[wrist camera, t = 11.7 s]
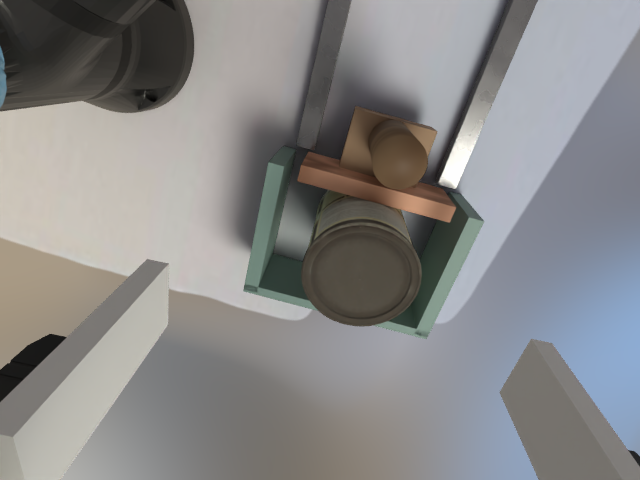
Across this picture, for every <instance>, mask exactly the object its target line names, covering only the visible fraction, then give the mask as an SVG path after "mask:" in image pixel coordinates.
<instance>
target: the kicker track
mask: <svg viewBox="0 0 640 480" xmlns="http://www.w3.org/2000/svg"><path fill="white" fill-rule="evenodd" d="M351 1H352V0H328V4H327V9H326V13H325V18H324V22H323V27H322V31H321V36H320V40H319V45H318V49H317V54H316V58H315V62H314V67H313V71H312V76H311V80H310V85H309V89H308V94H307V98H306V103H305V107H304V112H303V116H302V121H301V125H300V130H299V134H298V139H297V143H296V146H300V147H304V148H307V149H311V150H314V149H315V147H316V143H317V139H318V134H319V130H320V126H321V122H322V118H323V114H324V110H325V106H326V102H327V98H328V94H329V90H330V86H331V82H332V78H333V74H334V70H335V66H336V62H337V58H338V53H339V49H340V45H341V41H342V37H343V33H344V29H345V25H346V21H347V17H348V13H349V9H350V5H351ZM537 1H538V0H508V3H507V5H506V7H505V10H504V12H503V15H502V17H501V20H500V22H499V25H498V27H497V30H496V32H495V35H494V37H493V39H492V42H491V44H490V47H489V49H488V52H487V54H486V57H485V59H484V62H483V64H482V67H481V69H480V71H479V74H478V76H477V79H476V81H475V84H474V86H473V89H472V91H471V94H470V96H469V99H468V101H467V104H466V106H465V108H464V111H463V113H462V116H461V118H460V121H459V123H458V126H457V128H456V131H455V133H454V136H453V138H452V140H451V143H450V145H449V148H448V150H447V153H446V155H445V158H444V160H443V163H442V165H441V168H440V170H439V172H438V175H437V177H436V180H435V181H436V183H437V184H438V185H441V186H445V187H448V188H452V189H456V187H457V184H458V182H459V180H460V178H461V175H462V173H463V171H464V168H465V166H466V164H467V161H468V159H469V157H470V155H471V152H472V150H473V148H474V145H475V143H476V141H477V139H478V136H479V134H480V132H481V129H482V127H483V125H484V122H485V120H486V118H487V116H488V113H489V111H490V109H491V106H492V104H493V102H494V100H495V97H496V95H497V93H498V90H499V88H500V86H501V83H502V81H503V79H504V77H505V74H506V72H507V70H508V67H509V65H510V63H511V61H512V58H513V56H514V54H515V51H516V49H517V47H518V44H519V42H520V40H521V38H522V35H523V33H524V31H525V28H526V26H527V24H528V22H529V19H530V17H531V15H532V12H533V10H534V8H535V5H536V3H537Z"/></svg>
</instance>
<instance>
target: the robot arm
mask: <svg viewBox="0 0 640 480" xmlns="http://www.w3.org/2000/svg"><path fill="white" fill-rule="evenodd" d="M193 55H194V36H193V28H192V23H191V19H190V16H189V13H188V9H187V7H186V4H185V2H184V0H0V111H7V110H15V109H23V108H30V107H38V106H46V105H54V104H61V103H69V102H77V101H84V102H87V103H90V104H92V105H95V106H98V107H101V108H103V109H106V110H110V111H114V112H122V113H136V112H142V111H147V110H151V109H155V108H158V107H160V106H162V105H164V104H166V103H167V102H169V101H170V100H171V99H172V98H174V97H175V96H176V95H177V94H178V92H179V91H180V90H181V89H182V87H183V86H184V84H185V82H186V80H187V78H188V76H189V73H190V70H191V66H192V62H193ZM168 291H169V264H168V263H163V262H158V261H154V260H149V259H147V260H146V261H145V262H144V263H143V264H142V265H141V266H140V267H139V268H138V269H137V270H136V271H135V272H134V273H133V274H132V275H131V276H130V277H128V278H127V279H126V281H124V282H123V284H121V285H120V286H119V287H118V288H117V289H116V290H115V291H114V292H113V293H112V294H111V295H110V296H109V297H108V298H107V299H106V300H105V301H104V302H103V303H102V304H101V305H100V306H99V307H98V308H97V309H96V310H95V311H94V312H93V313H92V314H90V315H89V316H88V318H86V319H85V320H84V321H83V322H82V323H81V324H80V325H79V326H78V327H77V328H76V329H75V330H74V331H73V332H72V333H71V334H70V335H69V336H68V337H63V336H58V335H53V334H49V335H47V336H45V337H43V338H41V339H39V340H37V341H35V342H34V343H31V344H30V345H28V346H27V347H26V348H25V349H23V350H22V351H21V352H20V353H19V354H18V355H16V356H15V357H14V358H13V359H12V360H11V362H10V363H9V364H7V365H5V366H4V367H3V368H2V369H1V370H0V480H61V478H62V477H63V475H64V474H65V472H66V471H67V469H68V468H69V467H70V465H71V464H72V462H73V461H74V459H75V458H76V456H77V455H78V454H79V452H80V451H81V449H82V447H83V446H84V445H85V443H86V442H87V441H88V439H89V438H90V436H91V435H92V433H93V432H94V430H95V429H96V428H97V426H98V425H99V423H100V422H101V420H102V419H103V418H104V416H105V415H106V413H107V412H108V410H109V409H110V407H111V406H112V405H113V403H114V402H115V400H116V399H117V397H118V396H119V394H120V393H121V392H122V390H123V389H124V387H125V386H126V384H127V383H128V382H129V380H130V379H131V377H132V376H133V374H134V373H135V371H136V370H137V369H138V367H139V366H140V364H141V363H142V361H143V360H144V359H145V357H146V356H147V354H148V352H149V351H150V350H151V348H152V347H153V345H154V344H155V343H156V341H157V340H158V338H159V337H160V335H161V334H162V332H163V331H164V330H165V328H166V327H167V325H168ZM500 394H501V397H502V399H503V401H504V403H505V406H506V408H507V410H508V412H509V415H510V417H511V419H512V421H513V423H514V426H515V428H516V430H517V432H518V435H519V437H520V439H521V441H522V443H523V446H524V448H525V450H526V452H527V455H528V457H529V459H530V461H531V464H532V466H533V468H534V470H535V472H536V475H537V477H538V479H539V480H640V456H639V455H638V454H637V453H636V452H634V451H629V450H628V449H627V448H626V447H625V445H624V444H623V442H622V441H621V440H620V438H619V437H618V435H617V434H616V433H615V431H614V430H613V428H612V427H611V426H610V424H609V423H608V421H607V420H606V419H605V418H604V416H603V415H602V413H601V412H600V410H599V409H598V407H597V406H596V405H595V403H594V402H593V400H592V399H591V398H590V396H589V395H588V394H587V392H586V390H585V389H584V388H583V386H582V385H581V383H580V382H579V381H578V379H577V378H576V376H575V375H574V374H573V372H572V371H571V369H570V368H569V367H568V365H567V364H566V363H565V361H564V360H563V358H562V357H561V355H560V354H559V353H558V351H557V350H556V348H555V347H554V346H553V344H552V343H548V342H543V341H538V340H534V339H531V340H530V342H529V343H528V345H527V347H526V349H525V350H524V352H523V354H522V355H521V357H520V359H519V360H518V362H517V364H516V366H515V367H514V369H513V370H512V372H511V374H510V376H509V377H508V379H507V381H506V382H505V384H504V386H503V388H502V389H501V391H500Z"/></svg>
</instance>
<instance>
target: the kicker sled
mask: <svg viewBox="0 0 640 480" xmlns="http://www.w3.org/2000/svg"><path fill="white" fill-rule="evenodd" d="M436 134H437V131H436V130H435V129H433V128H432V127H429V126H426V125H422V124H419V123H415V122H412V121H408V120H404V119H401V118H397V117H394V116H390V115H387V114H383V113H380V112H376V111H372V110H369V109H365V108H362V107H358V106H355V109H354V113H353V116H352V120H351V123H350V127H349V130H348V134H347V137H346V141H345V145H344V148H343V152H342V155H341V159H340V160H337V159H334V158H330V157H326V156H323V155H319V154H316V153H312V152H308V153H307V155H306V157H305V159H304V161H303V162H302V164H301V168H300V172H299V176H298V180H297V181H299V182H302V183H306V184H310V185H313V186H317V187H321V188H324V189H328V190H332V191H335V192H339V193H343V194H346V195H350V196H354V197H357V198H361V199H364V200H368V201H372V202H375V203H379V204H383V205H386V206H390V207H394V208H397V209H401V210H405V211H408V212H412V213H416V214H419V215H423V216H427V217H430V218H434V219H438V220H441V221H445V222H449V223H450V221H451V218H452V216H453V214H454V212H455V210H456V206H455V205H454V204H453V202H452V201H451V199H450V198H449V197H448V195H447V194H446V193H445V191H444V190H443V189H442V188H439V187H435V186H432V185H428V184H424V183H421V182H418V181H419V180H420V179H421V178H422V177H423V175H424V173H425V171H426V169H427V164H428V155H429V152H430V150H431V147H432V145H433V142H434V140H435V137H436Z"/></svg>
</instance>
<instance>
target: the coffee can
mask: <svg viewBox="0 0 640 480" xmlns="http://www.w3.org/2000/svg"><path fill="white" fill-rule="evenodd" d="M421 278H422V270H421V264H420V260H419V257H418V255H417V252H416V250H415V249H414V247H413V244H412V241H411V238H410V235H409V232H408V230H407V227H406V224H405V221H404V218H403V215H402V212H401V209H397V208H394V207H390V206H386V205H383V204H379V203H375V202H372V201H368V200H364V199H361V198H357V197H354V196H350V195H346V194H343V193H339V192H335V191H332V190H328V191H327V192H326V193H325V194H324V196H323V197H322V199H321V201H320V203H319V205H318V208H317V215H316V219H315V223H314V227H313V231H312V235H311V239H310V243H309V247H308V250H307V252H306V254H305V257H304V260H303V263H302V269H301V280H302V286H303V289H304V292H305V294H306V296H307V298H308V299H309V301H310V302H311V303H312V305H313V306H314V307H315V308H316V309H317V310H318V311H320V312H321V313H322V314H323V315H325V316H326V317H328V318H329V319H332V320H334V321H337V322H339V323H342V324H347V325H352V326H372V325H377V324H381V323H384V322H387V321H389V320H391V319H393V318H395V317H397V316H398V315H400V314H401V313H402V312H404V311H405V310H406V309H407V308H408V307H409V306H410V305H411V303H412V302H413V300H414V299H415V297H416V296H417V294H418V291H419V288H420V285H421Z"/></svg>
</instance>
